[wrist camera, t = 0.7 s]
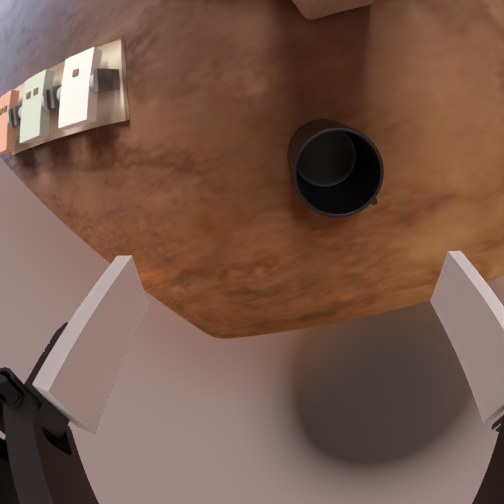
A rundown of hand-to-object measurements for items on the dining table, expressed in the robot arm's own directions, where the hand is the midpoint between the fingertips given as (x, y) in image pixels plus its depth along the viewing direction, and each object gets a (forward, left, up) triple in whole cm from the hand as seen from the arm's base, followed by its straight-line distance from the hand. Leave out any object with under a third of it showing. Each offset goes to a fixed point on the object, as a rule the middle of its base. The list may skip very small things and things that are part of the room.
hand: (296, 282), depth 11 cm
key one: (-11, -24, -23) cm, 35 cm away
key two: (-11, -33, -23) cm, 42 cm away
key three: (-11, -42, -23) cm, 49 cm away
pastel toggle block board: (-12, -33, -26) cm, 44 cm away
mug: (+1, +7, -27) cm, 28 cm away
